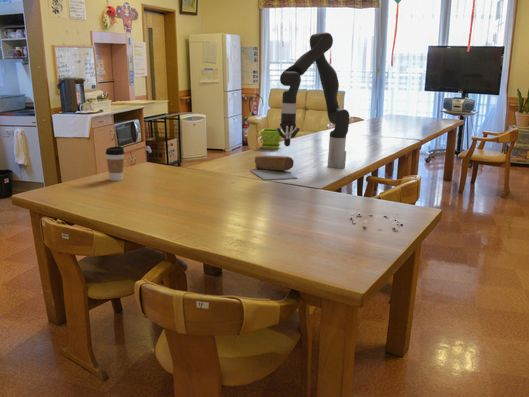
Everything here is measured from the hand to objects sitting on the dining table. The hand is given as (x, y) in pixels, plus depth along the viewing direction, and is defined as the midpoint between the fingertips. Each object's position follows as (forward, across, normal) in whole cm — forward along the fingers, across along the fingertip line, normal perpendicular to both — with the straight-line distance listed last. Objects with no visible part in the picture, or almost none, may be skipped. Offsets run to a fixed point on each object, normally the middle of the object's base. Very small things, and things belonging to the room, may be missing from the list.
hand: (287, 146), depth 251 cm
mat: (+15, +7, 0) cm, 17 cm away
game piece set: (+16, -1, +84) cm, 85 cm away
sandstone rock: (+10, -3, -3) cm, 11 cm away
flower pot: (+15, -24, -84) cm, 89 cm away
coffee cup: (+15, +85, -4) cm, 86 cm away
